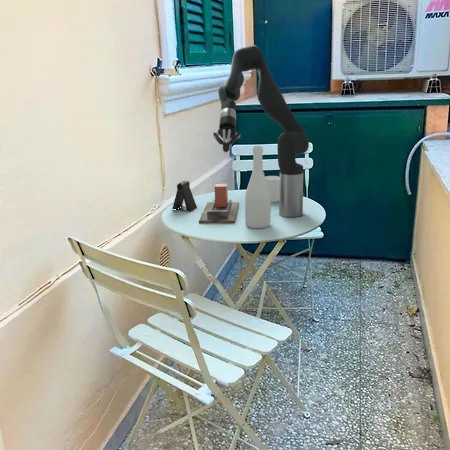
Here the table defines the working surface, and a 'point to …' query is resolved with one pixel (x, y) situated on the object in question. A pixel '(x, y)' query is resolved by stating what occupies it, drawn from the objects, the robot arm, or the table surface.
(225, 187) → the orange upright block
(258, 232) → the table surface
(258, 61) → the robot arm
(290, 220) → the table surface
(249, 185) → the wine bottle
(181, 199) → the black a-frame stand
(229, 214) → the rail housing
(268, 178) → the mug
